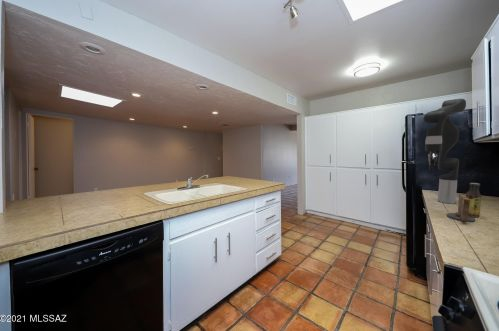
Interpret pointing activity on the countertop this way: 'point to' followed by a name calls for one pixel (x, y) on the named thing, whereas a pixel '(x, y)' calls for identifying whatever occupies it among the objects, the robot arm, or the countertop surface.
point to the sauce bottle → (474, 200)
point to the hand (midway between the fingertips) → (431, 170)
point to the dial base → (455, 217)
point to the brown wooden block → (463, 207)
